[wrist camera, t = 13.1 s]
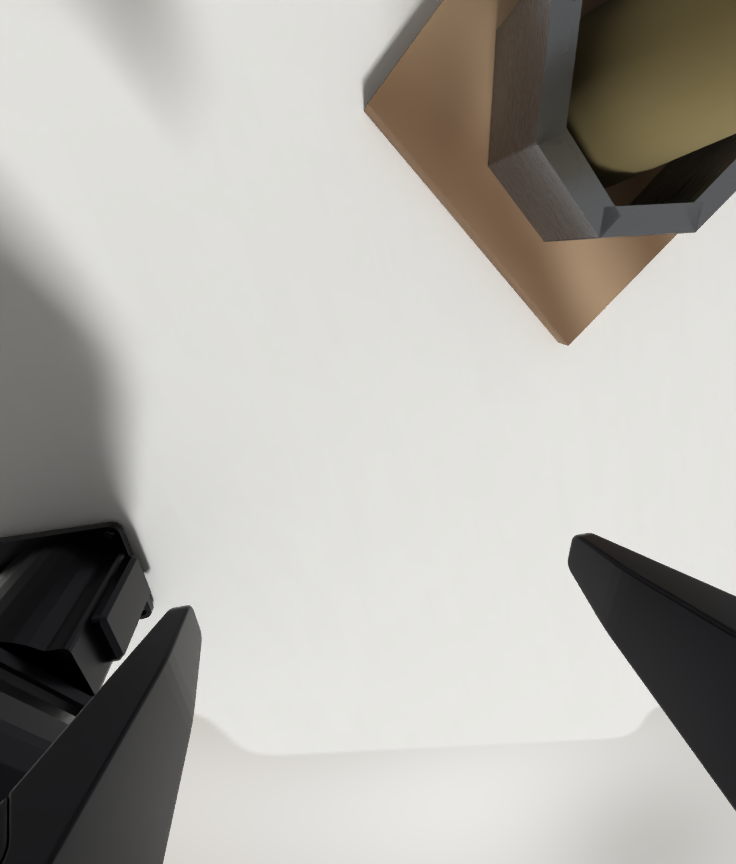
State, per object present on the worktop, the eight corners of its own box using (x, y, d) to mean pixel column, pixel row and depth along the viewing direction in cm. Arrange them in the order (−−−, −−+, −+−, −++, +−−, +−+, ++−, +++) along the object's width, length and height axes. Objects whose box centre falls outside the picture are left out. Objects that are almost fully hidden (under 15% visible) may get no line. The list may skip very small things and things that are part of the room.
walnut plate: (558, 342, 21) (568, 345, 20) (364, 111, 15) (367, 103, 14) (786, 106, 18) (806, 100, 17) (650, -282, 12) (673, -315, 12)
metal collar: (577, 287, 19) (635, 293, 16) (440, 102, 15) (480, 60, 12) (753, 101, 17) (861, 63, 14) (650, -170, 13) (767, -310, 10)
